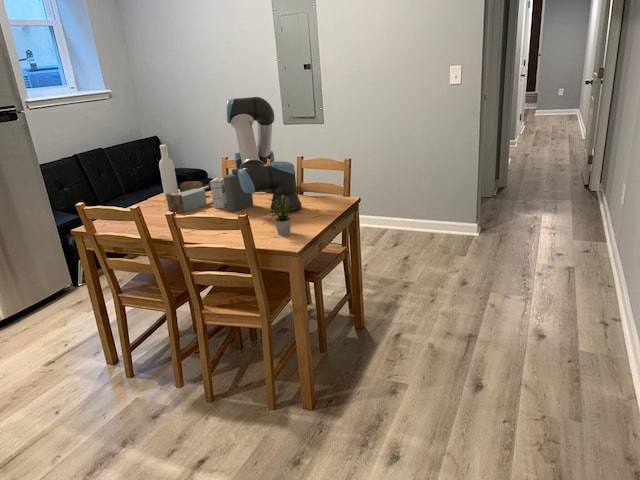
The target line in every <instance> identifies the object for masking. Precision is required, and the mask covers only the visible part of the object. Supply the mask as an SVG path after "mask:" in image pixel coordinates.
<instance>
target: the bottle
mask: <svg viewBox="0 0 640 480" xmlns="http://www.w3.org/2000/svg"><path fill="white" fill-rule="evenodd" d="M159 149H160V155H161V159H160V160H159V163H158V166H159V171H160V178H161V184H162V189H163V197H164V199H165V200H166V201H167V197H166V194H167V193H175V194H177V193H180V192H179V189H178V187H179V186H178V182H177V176H176V171H175V164H174V161H173V160H172V158H171V157H169V153H168V146H167V144H160V145H159Z"/></svg>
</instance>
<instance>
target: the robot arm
mask: <svg viewBox="0 0 640 480" xmlns="http://www.w3.org/2000/svg"><path fill="white" fill-rule="evenodd" d="M226 121H227V124H230V125H231V127H232V128H233V129H234V131H235V135H236V141H237V145H238V150H236V151H235V152H234V161H235V169H239V170H238V178H239V182H240V186H241V188H242V190H243V192H245V193H252V194H256V193H259V192H260V193H261V192H269V191H272V198H271V200H272V201H274V202H275V203H276V200H277V201H278V202H279V204H280V205H281V197H282V195H283V197H284V196H285V197H284V199H283V207H284V206H285V200H286V197H287V201H288V199H289V202H288V204H289V203H290V204H291V203H292V204H291V205H290V204H289V208H288V210H287V212H289V213H288V214H291V213H296V212H300V211H301V210H302V209H303V206H302V202H301V201H300V200H301V199H300V197H299V195H298V190H297V181H296V180H297V179H296V177H297V176H296V169H295V165H294V164H293V163H291V162H290V161H289V162H288V161H281V160H278V161H276V160H275V155H274V154H275V153H274V151H273V150H271V149H272V132H273V131H272V130H273V123H274V122H275V112H274V110H273V106H271V104H270V102H268V100H266V99H264V98H262V97H260V96H253V97H252V96H251V97H242V98H241V97H240V98H237V97H235V98H231V99H228V100H227V101H226ZM254 122H256V123H257V142H256V137H255V133H254V129H253V125H254ZM267 158H268V159H270V158H271V160H272V162H270V164H268V165H266V163H267ZM204 186H205V187H202V188H199V189H203V190H205V193H209V192H212V191H211V185H210V183H207V184H204ZM272 201H271V203H270V205H271V206H270V210H271V209H272V210H277V209H276V208H275V205H274V203H273V202H272ZM276 204H277V203H276ZM286 204H287V203H286ZM272 206H273V207H274V208H275V209H274V208H273V207H272ZM293 208H296V209H293ZM291 209H292V210H291ZM275 213H276V212H275ZM275 213H274V212H272V214H275ZM276 214H277V213H276Z"/></svg>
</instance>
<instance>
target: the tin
mask: <svg viewBox="0 0 640 480" xmlns="http://www.w3.org/2000/svg"><path fill="white" fill-rule="evenodd" d="M202 187H205V184H204V183H203V182H201V181H200V180H199V181H197V180H196V181H195V180H194V181H183V182H182V183H180V186H179V191H180V192H179V193H181V192H184V191H188V190H191V189H199V188H202Z"/></svg>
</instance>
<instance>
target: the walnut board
mask: <svg viewBox="0 0 640 480" xmlns="http://www.w3.org/2000/svg"><path fill="white" fill-rule="evenodd" d="M166 197H167V200H166V201H167V202H166V203H167V207H168V211H170V212H174V211H175V212H174V213H179V214H181V213H185V212H184V207H183V201H182V195H181V194H175V193H167V194H166Z"/></svg>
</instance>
